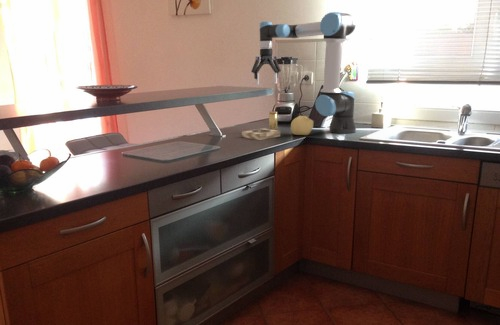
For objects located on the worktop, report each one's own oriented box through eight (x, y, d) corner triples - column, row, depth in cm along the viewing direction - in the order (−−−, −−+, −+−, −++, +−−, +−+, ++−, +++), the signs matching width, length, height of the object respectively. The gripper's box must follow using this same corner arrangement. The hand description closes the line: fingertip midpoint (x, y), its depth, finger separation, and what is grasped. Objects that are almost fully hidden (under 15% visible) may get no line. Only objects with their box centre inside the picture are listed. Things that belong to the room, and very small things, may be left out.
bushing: (279, 132, 256) (279, 111, 253) (273, 133, 253) (273, 112, 250) (272, 131, 259) (272, 111, 256) (267, 132, 256) (267, 111, 253)
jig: (280, 136, 244) (280, 130, 243) (259, 140, 233) (259, 133, 233) (262, 133, 254) (262, 127, 253) (241, 136, 243) (241, 131, 242)
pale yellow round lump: (316, 135, 245) (316, 116, 242) (297, 137, 240) (298, 117, 237) (305, 132, 255) (305, 113, 252) (287, 134, 250) (287, 115, 247)
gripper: (279, 48, 278) (279, 82, 283) (245, 48, 265) (246, 84, 270) (286, 48, 272) (286, 83, 277) (252, 48, 259) (252, 85, 264)
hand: (266, 84), depth 273 cm, fingers open, 13 cm apart
